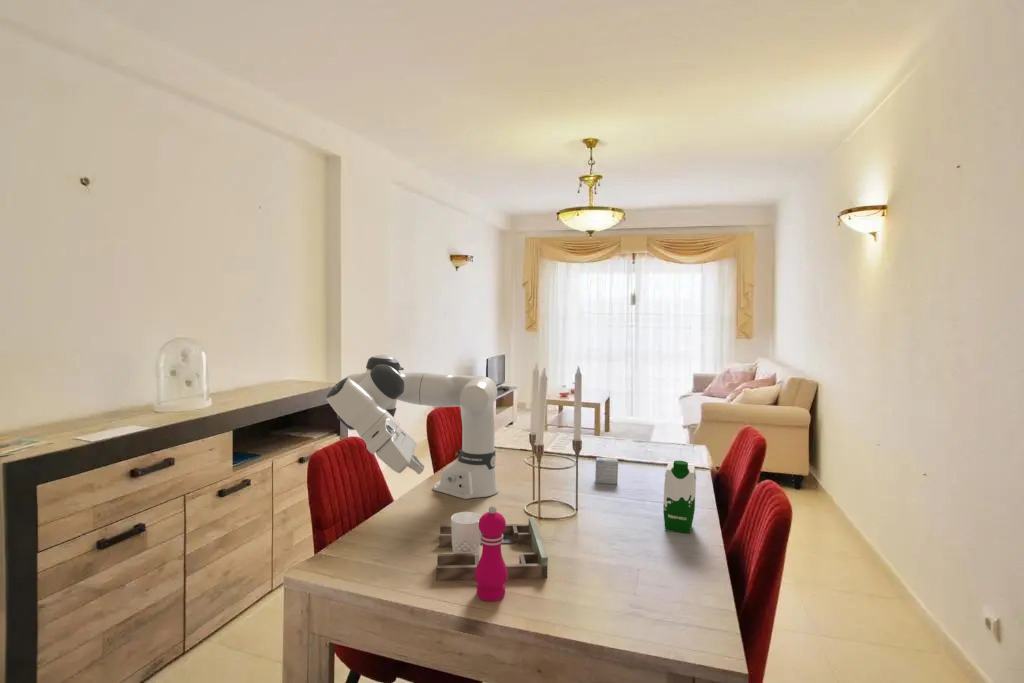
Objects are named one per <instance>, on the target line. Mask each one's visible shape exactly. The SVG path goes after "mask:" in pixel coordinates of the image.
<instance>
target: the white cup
mask: <svg viewBox="0 0 1024 683" xmlns="http://www.w3.org/2000/svg"><path fill="white" fill-rule="evenodd" d="M481 516H482V515H481V513H480V514H479V513H477V512H473V511H461V512H456V513H454V514H452V516H450V525H451V535H452V546H451V547H452V554H479V555H480V549H481V548H480V546H481V544H480V539H481V531H480V530H479V520H480V518H481Z"/></svg>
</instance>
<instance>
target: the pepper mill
mask: <svg viewBox="0 0 1024 683" xmlns="http://www.w3.org/2000/svg"><path fill="white" fill-rule="evenodd" d="M506 524H507V522H506V519H505V516H504V515H502V514H501V513H500V512H497V507H496V506H495V505H490V506H489V507H488V512H485V513H483V514H482V515H481V518H480V520H479V530H480V531H481V532H482V534H481V542H482V544H481V545H482V552H481V554H480V555H481V556H480V557H479V563H478V565H477V567H476V570H475V580H474V581H476V583H477V586H476V596H477V597H478V598H479V599H480V600H482V601H486V602H497V601H499V600H500V601H501V600H502V599H503V598H504V597H505V595H506V586H505V583H506V582H507V580H508V579H507V568H506V565H505V564H506V562H505V561H504V558H503V555H502V544H501V543H502V542H503V534H502V533H503V532H504V530H505V528H506Z"/></svg>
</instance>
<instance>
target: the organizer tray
mask: <svg viewBox="0 0 1024 683" xmlns="http://www.w3.org/2000/svg"><path fill="white" fill-rule="evenodd" d="M481 534H482V532H481ZM502 534H503V542H502V543H501V545H515V544H516V545H518V546H531V548H532V550H533V552H523V553H522V554H519V555H518V556H519V558H518V559H519V562H518V563H505V565H506V568H507V580H517V579H520V580H523V579H526V580H527V579H529V580H530V579H548V564H549V560H548V559H549V557H548V554H547V551H546V548H545V545H544V542H543V540H542V537H541V534H540V531H539V528H538V525H537V522H536V519H535V517H534V516H528V523H506V528H505V530H504V532H503V533H502ZM438 537H439V538H438V539H439V540H438V542H439V543H438V547H439V548H440V547H442V548H443V547H444V548H445V547H447V548H449V547H452V535H451V524H440V525H439V534H438ZM480 545H483V544H482V542H481V539H480ZM436 557H437V559H436V560H437V565H436V568H435V571H436V573H435V574H436V576H435V577H436V578H435V579H436V580H435V581H473V580H474V581H476V580H475V570H476V567H477V565H478V563H479V561H480V553H479V554H453V553H438V554H437V556H436Z"/></svg>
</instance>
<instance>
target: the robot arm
mask: <svg viewBox="0 0 1024 683" xmlns="http://www.w3.org/2000/svg"><path fill="white" fill-rule="evenodd" d="M404 368H405V367H402V366H401V365H400V362H399V361H398V360H397V358H394V357H392V356H390V355H386V354H378V355H374V356H371V357H369V358H368V359H367V362H366V366H365V369H366V370H365V372H362V373H353V374H349V375H348V376H345V378H343V379H341V380H340V381H339V382H337V383H336V384H335V385H334V386H333V387H332V388H331V390H329V392H328V393H327V395H326V398H325V399H326V401H327V402H328V404H329V405H330V407H331V408H332V410H333V411H334V412H335V413H336V418H337V419H338V421H340V423H342V424H343V425H344V426H345V427H346V428H347V429H348V430H349V431H356V433H357V434H358V436H359V438H361V439H362V440H363V441H364V442H365V445H366V446H365V447H366V450H367V451H368V452H369V454H371V455H374V454H375V456H377V458H378V459H379V460H381V461H382V463H384V464H385V465H386V466H387V467H389V468H390V469H391V470H392V471H394V472H396V473H397V474H401V473H402V472H403V471H405V470H406V468H409V469H410V470H412V471H414V472H415V473H416V474H417V475H421V474H422V472H424V470H425V465H424V464H423V463H422V462H421V461H420V459H419V458H418V456H417V455H416V454H415V453H414V452H415V449H416V446H417V443H416V442H417V441H416V440H414V438H413V437H411V436H410V434H408V433H407V432H406V431H405V430H404V429H403V428H401V427H400V425H401V422H399V421H398V420H397V419H396V418H395V415H396V411H397V402H398V401H401V402H403V403H409V404H411V405H413V404H414V405H418V406H427V407H428V406H430V407H436V408H437V407H439V408H455V407H456V408H458V407H460V417H461V425H462V426H461V427H462V432H461V433H462V436H461V437H462V441H461V442H462V445H461V449H459V450H458V451H457V452H455V455H454V456H455V457H457V459H456V460H455V461H453V462H452V463H451V464H449V465H448V466H446V467H445V468H444V469H443V470H442V472H441V475H440V480H438V481H437V482H436V483H435V484H434V485H433V491H436V492H439V493H444V494H447V495H451V496H453V497H457V498H460V499H464V500H465V499H466V500H467V499H473V498H485V497H486V498H487V497H490V496H493V495H496V494H497V493H498V492H499V488H498V484H497V480H496V470H495V469H496V468H495V467H496V460H497V458H496V449H495V439H496V438H495V437H496V436H495V434H496V433H495V432H496V431H495V430H496V427H495V419H494V417H495V416H494V402H495V401H496V400H497V397H498V387H497V384H496V382H495V381H494V380H493V379H492V378H490V377H487V376H483V375H482V376H481V375H467V374H466V375H461V374H458V375H456V374H455V375H454V374H450V375H449V374H438V373H428V372H427V373H426V372H403V373H401V372H400V371H404V370H405V369H404Z"/></svg>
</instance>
